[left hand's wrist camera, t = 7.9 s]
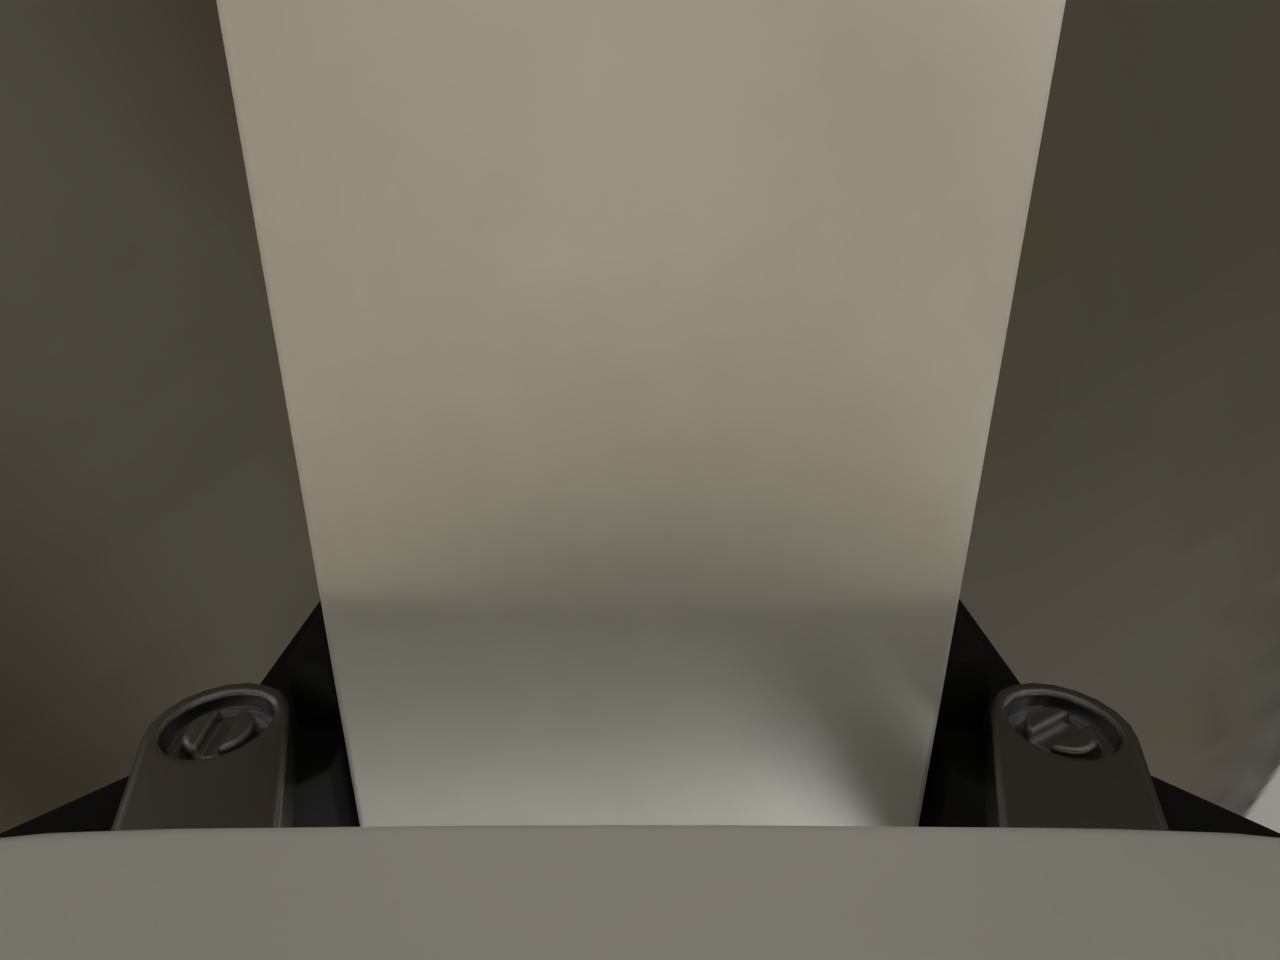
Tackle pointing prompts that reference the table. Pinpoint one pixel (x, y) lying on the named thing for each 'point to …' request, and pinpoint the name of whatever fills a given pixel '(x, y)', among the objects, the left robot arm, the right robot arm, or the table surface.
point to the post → (640, 384)
